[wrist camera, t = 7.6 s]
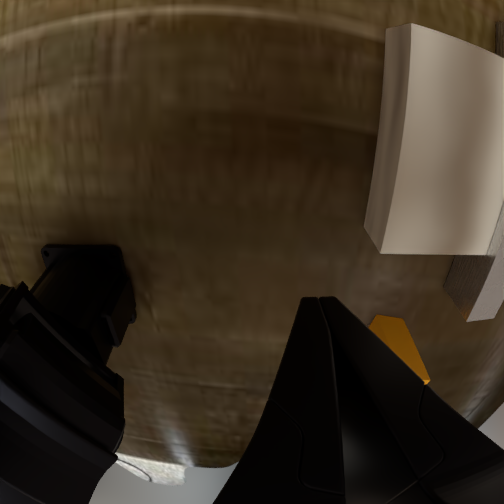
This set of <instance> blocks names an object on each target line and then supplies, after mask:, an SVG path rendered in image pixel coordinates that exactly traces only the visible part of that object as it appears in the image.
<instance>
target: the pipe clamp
mask: <svg viewBox="0 0 504 504" xmlns="http://www.w3.org/2000/svg"><path fill="white" fill-rule="evenodd" d="M368 328H369V329H370V330H371V331H372V332H373V333H374V334H376V335H377V336H378V337H379V338H380V339H381V340H382V341H383V342H384V343H385V344H386V345H387V346H388V347H389V348H390V349H391V350H392V351H393V352H394V353H395V354H396V355H397V356H399V357H400V358H401V359H402V360H403V361H404V362H405V363H406V364H407V365H408V366H409V367H410V368H411V369H412V370H413V371H414V372H415V373H416V374H417V375H418V376H419V377H420V378H421V379H422V380H423V381H424V382H425V384H427V383H428V382H429V381H430V378H429V376H428V373H427V371H426V369H425V366H424V364H423V362H422V359H421V357H420V355H419V353H418V350H417V348H416V346H415V344H414V342H413V339H412V337H411V335H410V333H409V331H408V329H407V327H406V324H405V322H404V320H403V319H402V318H395V317H389V316H383V315H376V316H375V318H374V320H373V321H372V323H371V324H370V326H369V327H368ZM425 384H424V385H425Z"/></svg>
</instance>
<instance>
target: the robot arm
mask: <svg viewBox="0 0 504 504" xmlns="http://www.w3.org/2000/svg"><path fill="white" fill-rule="evenodd" d="M47 251H48V252H47ZM111 252H113V253H115V255H116V256H115V255H113V254H112V253H111ZM41 254H42V257H43V260H44V263H45V266H46V270H45V271H44V273H43V274H42V275H41V276H40V278H39V279H38V280H37V282H36V283H35V284H34V286H33V287H32V288H31V290H30V291H29V290H28V287H27V285H26V284H25V283H24V282H23V281H22V282H21V283H19V284H18V285H17V286H16V287H15V288H14V287H8V286H6V285H3V284H1V285H0V504H89V501H90V499H91V497H92V494H93V492H94V490H95V488H96V486H97V484H98V482H99V480H100V479H101V477H102V476H103V475H104V473H105V472H106V471H107V469H109V468H110V467H111V466H112V465H113V464H114V463H115V462H116V461H117V459H118V456H117V455H116V454H115V452H116V451H117V449H118V448H119V446H120V444H121V441H122V438H123V434H124V428H125V418H124V379H123V378H122V377H121V376H120V375H119V374H117V373H116V374H115V373H114V372H113V371H112V370H110V369H109V368H108V367H107V366H106V364H107V362H108V359H109V356H110V354H111V351H112V349H113V347H119V346H120V345H121V343H122V340H123V337H124V335H125V332H126V329H127V327H128V324H132V323H134V322H135V320H136V312H135V307H136V303H135V299H134V295H133V291H132V287H131V283H130V279H129V277H128V276H127V275H126V272H125V267H124V263H123V258H122V253H121V250H120V249H119V248H118V247H116V246H106V245H45V246H44V247H43V248H42V249H41ZM424 384H425V382H424V381H423V380H422V379H421V378H420V377H419V376H418V375H417V374H416V373H415V372H414V371H413V370H412V369H411V368H410V367H409V366H408V365H407V364H406V363H405V362H404V361H403V360H402V359H401V358H400V357H399V356H397V355H396V354H395V353H394V352H393V351H392V350H391V349H390V348H389V347H388V346H387V345H386V344H385V343H384V342H383V341H382V340H381V339H380V338H379V337H378V336H377V335H376V334H374V333H373V332H372V331H371V330H370V329H369V328H368V327H367V326H366V325H365V324H364V323H363V322H362V321H361V320H360V319H359V318H358V317H357V316H355V315H354V314H353V313H352V312H351V311H350V310H349V309H348V308H347V307H346V306H345V305H344V304H343V303H342V302H341V301H339V300H338V299H337V298H336V297H334V296H328V297H320V298H319V299H318V298H317V297H303V298H302V299H301V301H300V304H299V307H298V310H297V314H296V317H295V320H294V323H293V326H292V330H291V333H290V336H289V339H288V342H287V345H286V348H285V351H284V354H283V357H282V360H281V363H280V366H279V369H278V372H277V375H276V378H275V381H274V384H273V386H272V389H271V392H270V395H269V398H268V401H267V403H266V405H265V408H264V411H263V414H262V416H261V419H260V421H259V424H258V426H257V428H256V431H255V433H254V435H253V437H252V439H251V441H250V443H249V445H248V447H247V448H246V450H245V452H244V454H243V456H242V458H241V459H240V461H239V463H238V464H237V466H236V468H235V469H234V471H233V472H232V474H231V476H230V477H229V479H228V481H227V482H226V484H225V485H224V487H223V488H222V490H221V491H220V493H219V495H218V496H217V498H216V499H215V501H214V502H213V504H504V450H503V449H502V448H501V447H499V446H498V445H497V444H496V443H494V442H493V441H492V440H491V439H489V438H488V437H487V436H486V435H484V434H483V433H482V432H481V431H479V430H478V429H477V428H476V427H474V426H473V425H472V424H471V423H469V422H468V421H467V420H466V419H465V418H463V417H462V416H461V415H460V414H459V413H458V412H456V411H455V410H454V409H453V408H452V407H451V406H450V405H448V404H447V403H446V402H445V401H444V400H443V399H442V398H441V397H440V396H439V395H438V394H437V393H436V392H435V391H434V390H433V389H432V388H431V387H430V386H429V385H428V384H425V385H424Z"/></svg>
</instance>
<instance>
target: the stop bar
mask: <svg viewBox="0 0 504 504" xmlns="http://www.w3.org/2000/svg"><path fill="white" fill-rule="evenodd" d="M496 55H498V56H500V57H502V58H504V22H496ZM444 289H445V290H446V292H447V293H448V294H449V296H450V297H451V299H452V300H453V302H454V303H455V305H456V307H457V308H458V310H459V311H460V313H461V314H462V316H463V317H464V319H465V321H466V322H468V321H476V320H484V319H492V318H494V317H495V315H496V313H497V311H498V310H499V308H500V306H501V304H502V302H503V300H504V201H503V205H502V208H501V212H500V215H499V218H498V221H497V224H496V227H495V230H494V233H493V236H492V239H491V242H490V245H489V248H488V250H487V253H486V255H455V258H454V261H453V264H452V266H451V269H450V272H449V274H448V277H447V280H446V282H445V285H444Z"/></svg>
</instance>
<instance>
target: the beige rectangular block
mask: <svg viewBox="0 0 504 504" xmlns="http://www.w3.org/2000/svg"><path fill="white" fill-rule="evenodd" d="M503 201H504V58H502V57H500V56H498V55H496V54H493V53H491V52H489V51H487V50H485V49H482V48H480V47H478V46H475V45H473V44H470V43H468V42H465V41H463V40H460V39H458V38H455V37H452V36H450V35H447V34H444V33H441V32H438V31H435V30H432V29H429V28H426V27H423V26H419V25H416V24H413V23H410V24H405V25H400V26H396V27H392V28H387V29H386V35H385V59H384V75H383V89H382V100H381V111H380V121H379V130H378V138H377V146H376V154H375V161H374V168H373V175H372V181H371V187H370V194H369V199H368V205H367V211H366V216H365V222H364V228H365V230H366V231H367V233H368V235H369V236H370V238H371V239H372V241H373V243H374V244H375V246H376V248H377V249H378V251H379V253H380V254H441V255H486V253H487V250H488V248H489V245H490V242H491V239H492V236H493V233H494V230H495V227H496V224H497V221H498V218H499V215H500V212H501V208H502V205H503Z"/></svg>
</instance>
